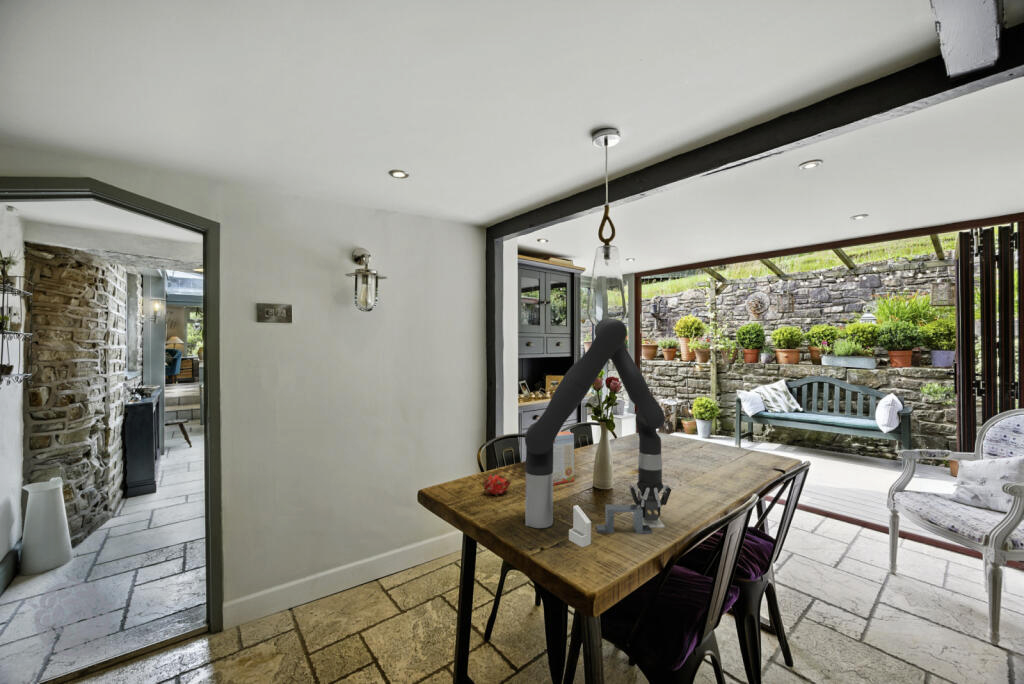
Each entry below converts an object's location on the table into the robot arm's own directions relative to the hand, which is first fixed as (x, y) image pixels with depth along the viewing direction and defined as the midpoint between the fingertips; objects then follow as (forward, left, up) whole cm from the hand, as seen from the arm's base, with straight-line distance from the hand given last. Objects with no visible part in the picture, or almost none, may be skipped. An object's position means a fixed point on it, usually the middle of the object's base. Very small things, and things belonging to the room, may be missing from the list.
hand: (649, 516), depth 142 cm
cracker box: (-28, +39, -3) cm, 48 cm away
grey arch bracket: (-10, -6, -2) cm, 12 cm away
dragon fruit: (-53, +25, -3) cm, 59 cm away
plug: (0, +3, 0) cm, 3 cm away
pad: (0, +4, -2) cm, 4 cm away
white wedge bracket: (-25, -14, -3) cm, 29 cm away
